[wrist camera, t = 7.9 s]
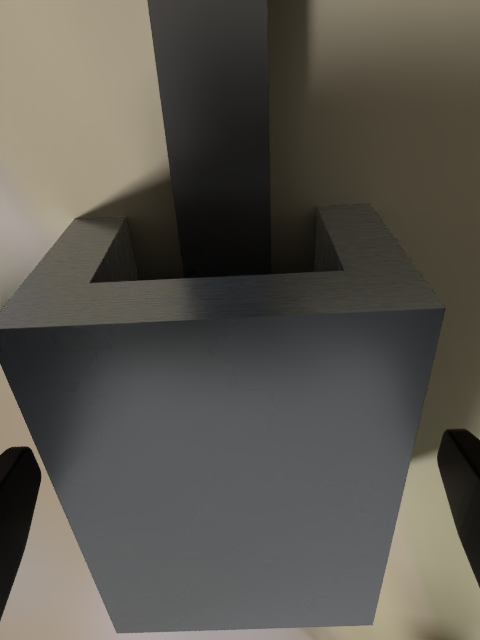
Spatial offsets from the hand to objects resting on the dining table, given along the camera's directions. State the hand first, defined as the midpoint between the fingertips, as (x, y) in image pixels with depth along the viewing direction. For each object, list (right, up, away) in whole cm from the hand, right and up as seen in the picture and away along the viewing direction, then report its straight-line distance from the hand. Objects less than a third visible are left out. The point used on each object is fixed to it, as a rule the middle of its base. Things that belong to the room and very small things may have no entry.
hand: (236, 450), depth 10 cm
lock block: (0, +1, +2) cm, 3 cm away
